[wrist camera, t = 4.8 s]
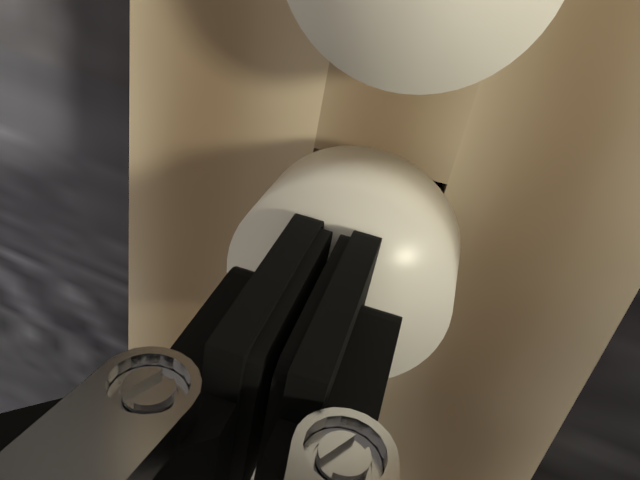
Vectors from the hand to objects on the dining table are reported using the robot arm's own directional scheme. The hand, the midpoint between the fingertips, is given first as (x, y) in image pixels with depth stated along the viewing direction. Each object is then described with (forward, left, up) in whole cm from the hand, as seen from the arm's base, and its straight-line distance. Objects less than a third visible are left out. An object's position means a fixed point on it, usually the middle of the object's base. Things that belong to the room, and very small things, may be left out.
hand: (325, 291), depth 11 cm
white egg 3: (0, 0, -5) cm, 5 cm away
